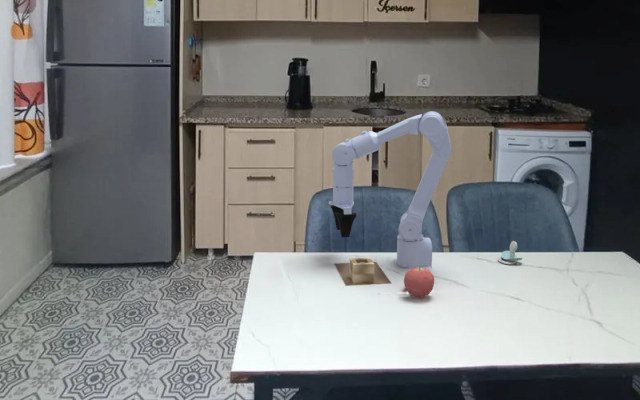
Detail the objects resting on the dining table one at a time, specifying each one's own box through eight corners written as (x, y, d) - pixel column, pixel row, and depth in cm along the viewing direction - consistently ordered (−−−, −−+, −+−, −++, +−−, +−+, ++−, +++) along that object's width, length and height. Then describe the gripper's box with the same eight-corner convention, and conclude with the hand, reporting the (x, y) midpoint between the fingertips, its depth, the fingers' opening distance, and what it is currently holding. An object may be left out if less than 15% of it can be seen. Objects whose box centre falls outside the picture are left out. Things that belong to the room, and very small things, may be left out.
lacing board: (375, 266, 191) (376, 246, 190) (391, 288, 174) (392, 266, 172) (334, 268, 189) (334, 248, 188) (345, 291, 172) (345, 268, 171)
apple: (410, 289, 173) (411, 259, 172) (437, 294, 170) (439, 264, 168) (398, 298, 167) (399, 267, 165) (426, 303, 163) (427, 272, 162)
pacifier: (504, 267, 192) (524, 265, 193) (505, 246, 190) (525, 244, 191) (493, 259, 199) (512, 257, 200) (494, 239, 197) (513, 237, 198)
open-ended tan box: (369, 275, 179) (369, 257, 178) (373, 282, 174) (374, 263, 173) (349, 276, 178) (349, 258, 177) (353, 283, 173) (353, 264, 172)
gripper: (325, 181, 194) (325, 227, 197) (333, 191, 180) (333, 240, 183) (349, 180, 195) (348, 226, 198) (359, 191, 181) (358, 239, 184)
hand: (342, 233), depth 191 cm, fingers open, 7 cm apart
